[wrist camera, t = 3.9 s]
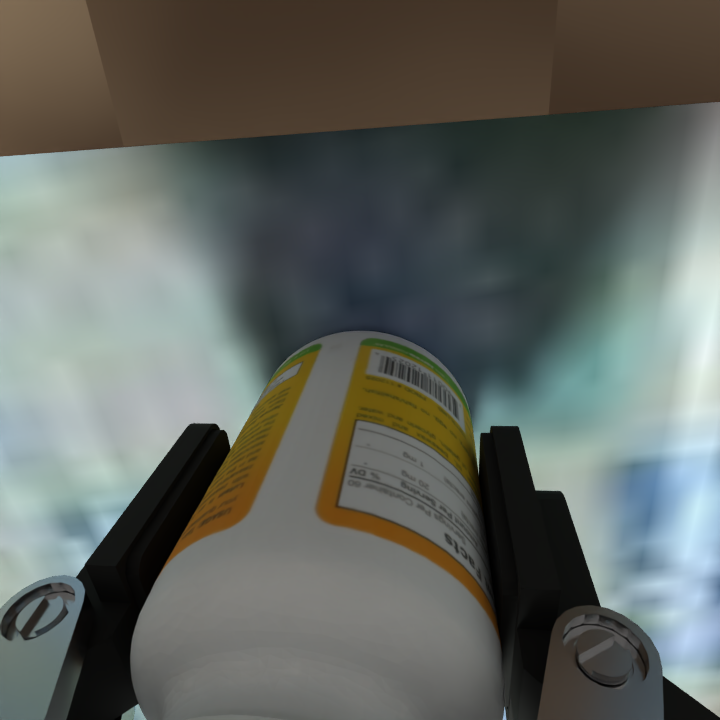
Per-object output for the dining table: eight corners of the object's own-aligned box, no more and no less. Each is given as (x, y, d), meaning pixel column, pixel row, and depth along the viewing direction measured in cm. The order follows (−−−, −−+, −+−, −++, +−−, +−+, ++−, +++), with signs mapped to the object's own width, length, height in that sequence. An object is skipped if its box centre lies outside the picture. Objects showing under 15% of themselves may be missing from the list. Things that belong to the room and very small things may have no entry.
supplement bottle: (291, 502, 15) (104, 1038, 6) (243, 336, 13) (-149, 831, 4) (478, 494, 14) (550, 1117, 5) (463, 313, 12) (551, 900, 3)
